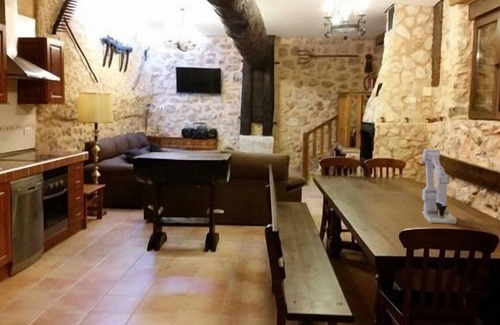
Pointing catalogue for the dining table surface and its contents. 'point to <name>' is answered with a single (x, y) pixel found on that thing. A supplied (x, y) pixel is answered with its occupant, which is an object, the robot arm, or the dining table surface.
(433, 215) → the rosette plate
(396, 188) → the dining table surface
